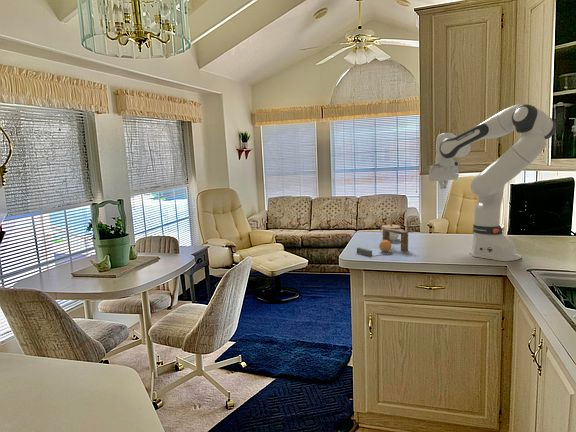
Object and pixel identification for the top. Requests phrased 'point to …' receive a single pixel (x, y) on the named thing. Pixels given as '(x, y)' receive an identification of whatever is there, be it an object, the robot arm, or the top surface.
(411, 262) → the top surface
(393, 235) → the lidded jar
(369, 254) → the stopper
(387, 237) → the bridge
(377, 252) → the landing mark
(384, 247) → the ball
